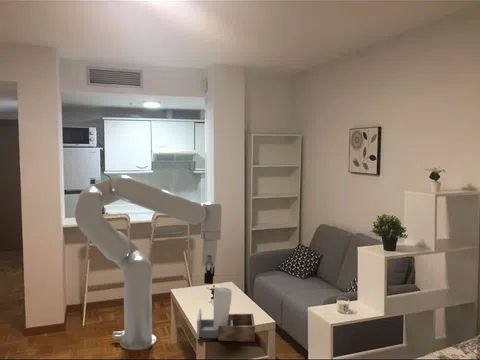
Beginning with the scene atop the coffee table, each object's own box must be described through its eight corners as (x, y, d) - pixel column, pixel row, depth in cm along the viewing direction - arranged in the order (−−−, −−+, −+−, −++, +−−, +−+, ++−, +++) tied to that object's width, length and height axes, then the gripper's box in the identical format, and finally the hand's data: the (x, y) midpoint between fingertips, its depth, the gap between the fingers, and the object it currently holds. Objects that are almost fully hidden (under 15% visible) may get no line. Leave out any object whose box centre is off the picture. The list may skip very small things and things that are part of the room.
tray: (197, 339, 147) (197, 320, 147) (199, 325, 160) (199, 308, 159) (233, 339, 148) (233, 320, 147) (232, 325, 160) (232, 308, 160)
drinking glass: (230, 328, 156) (234, 289, 157) (225, 333, 149) (229, 292, 150) (214, 325, 157) (217, 286, 158) (208, 330, 151) (212, 289, 152)
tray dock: (218, 342, 147) (218, 326, 147) (219, 328, 160) (219, 313, 160) (254, 342, 148) (255, 326, 148) (252, 328, 160) (252, 313, 160)
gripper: (202, 231, 160) (201, 273, 161) (198, 238, 143) (197, 286, 144) (221, 231, 160) (220, 274, 161) (219, 239, 143) (218, 287, 144)
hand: (209, 279), depth 152 cm, fingers open, 9 cm apart
